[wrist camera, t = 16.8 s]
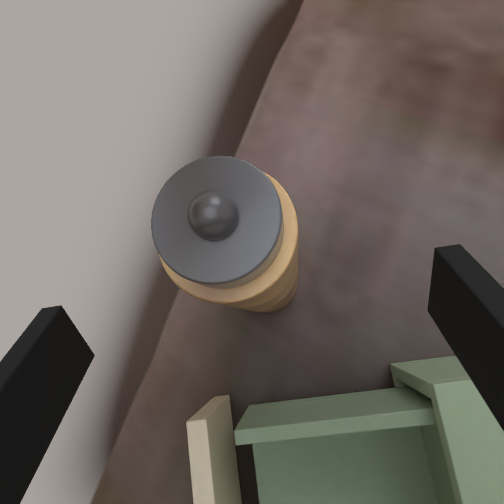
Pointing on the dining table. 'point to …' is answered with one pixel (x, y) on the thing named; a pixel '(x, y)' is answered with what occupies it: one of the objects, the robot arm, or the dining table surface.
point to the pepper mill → (228, 234)
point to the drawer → (323, 450)
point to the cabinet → (460, 427)
